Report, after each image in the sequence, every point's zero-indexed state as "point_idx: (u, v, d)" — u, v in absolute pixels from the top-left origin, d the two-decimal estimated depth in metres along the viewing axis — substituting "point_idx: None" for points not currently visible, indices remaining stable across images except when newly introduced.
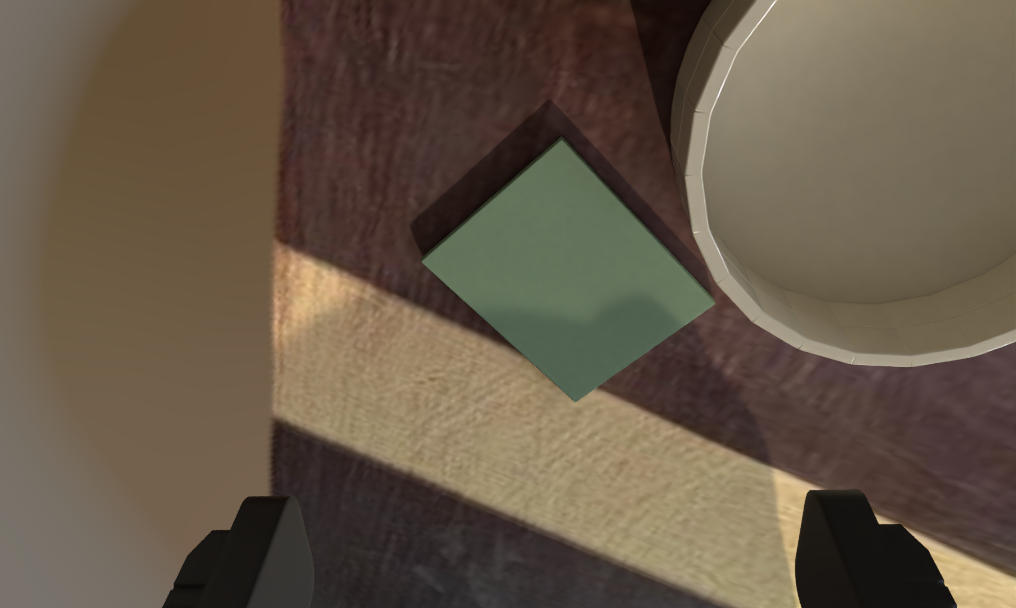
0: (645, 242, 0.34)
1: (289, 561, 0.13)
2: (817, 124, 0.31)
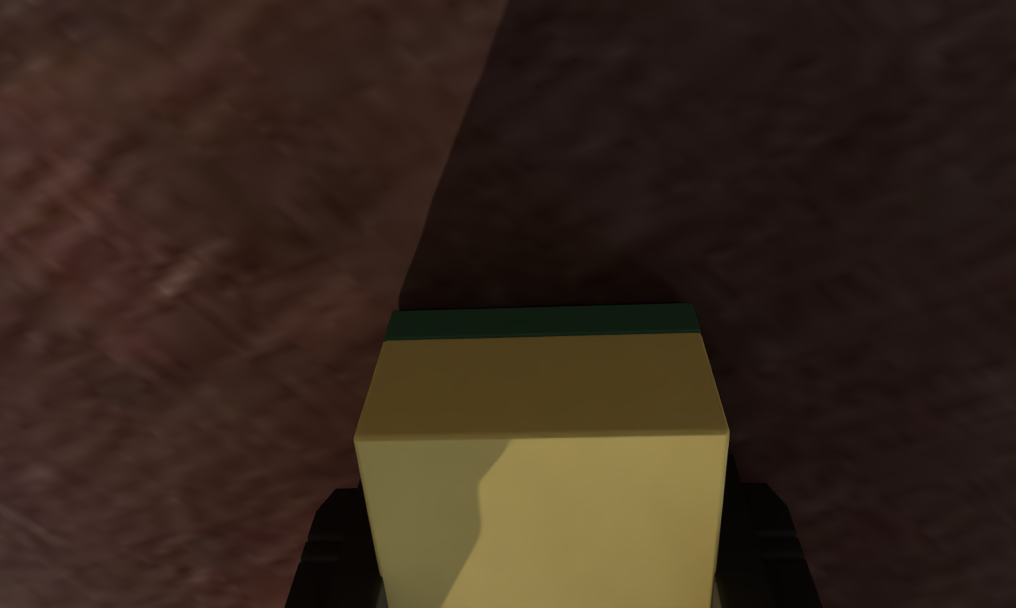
0: None
1: None
2: None
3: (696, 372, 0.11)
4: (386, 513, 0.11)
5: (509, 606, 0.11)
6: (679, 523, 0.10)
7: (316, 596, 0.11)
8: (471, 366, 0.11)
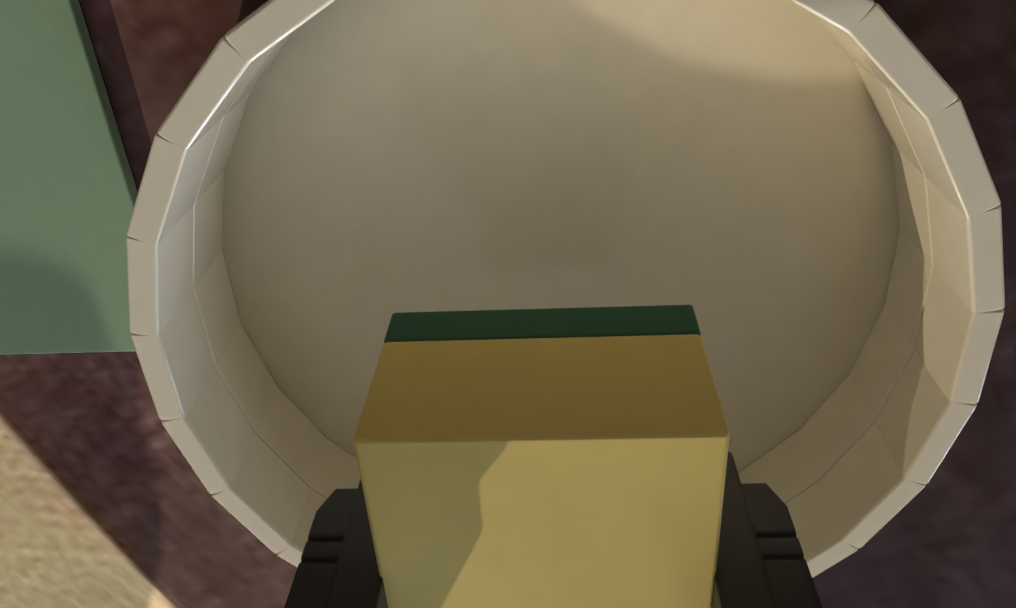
0: (116, 201, 0.20)
1: None
2: (444, 207, 0.19)
3: (696, 374, 0.11)
4: (386, 515, 0.11)
5: None
6: (680, 524, 0.10)
7: (316, 596, 0.11)
8: (471, 368, 0.11)
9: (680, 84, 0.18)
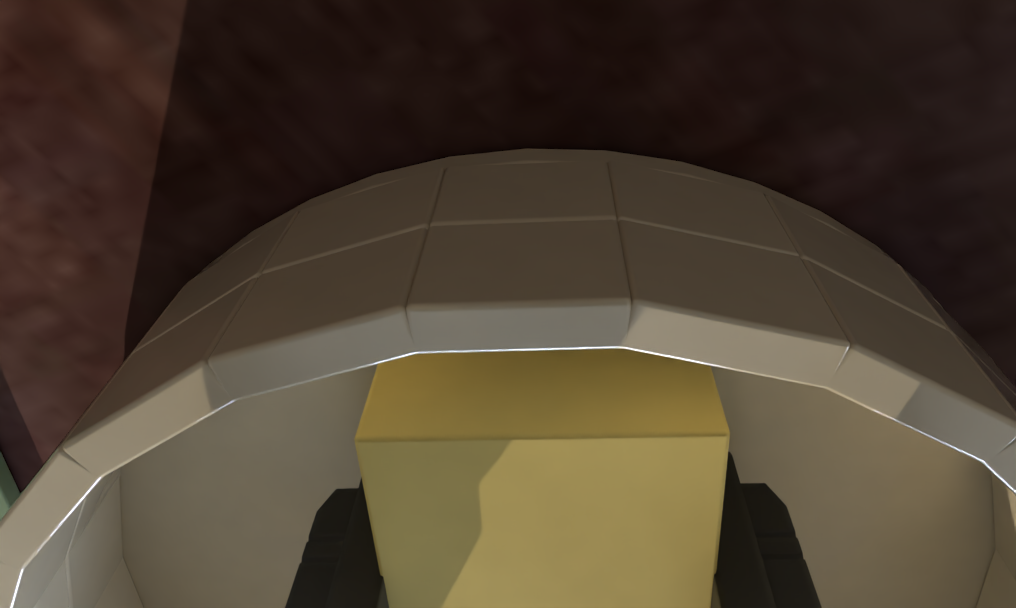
0: None
1: None
2: None
3: (696, 373, 0.11)
4: (387, 514, 0.11)
5: (510, 607, 0.11)
6: (680, 524, 0.10)
7: (316, 595, 0.11)
8: (472, 367, 0.11)
9: None
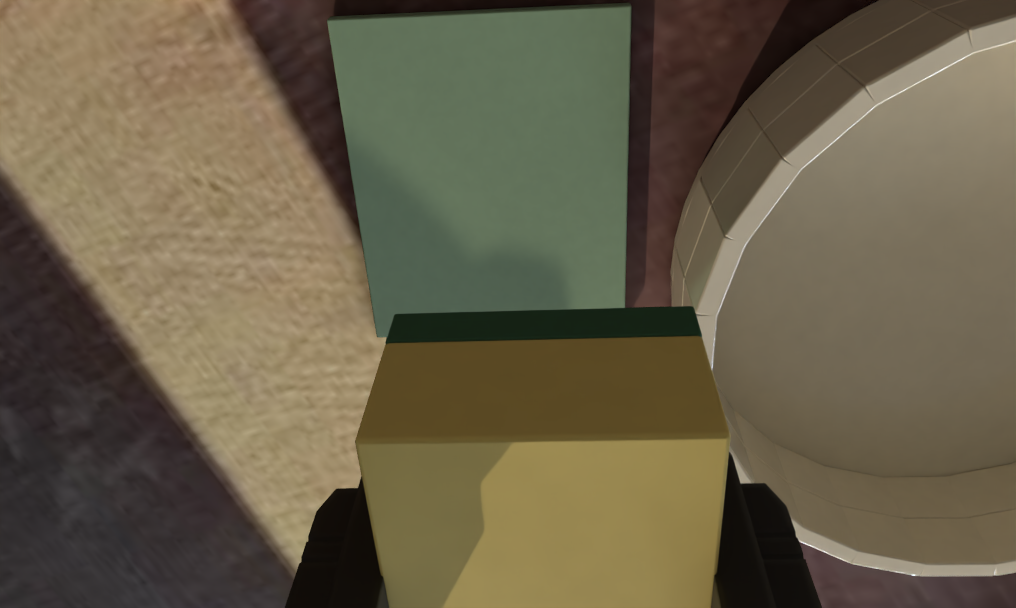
0: (613, 208, 0.24)
1: None
2: (891, 214, 0.24)
3: (697, 376, 0.11)
4: (388, 516, 0.11)
5: None
6: (680, 525, 0.10)
7: (316, 596, 0.11)
8: (473, 369, 0.11)
9: None
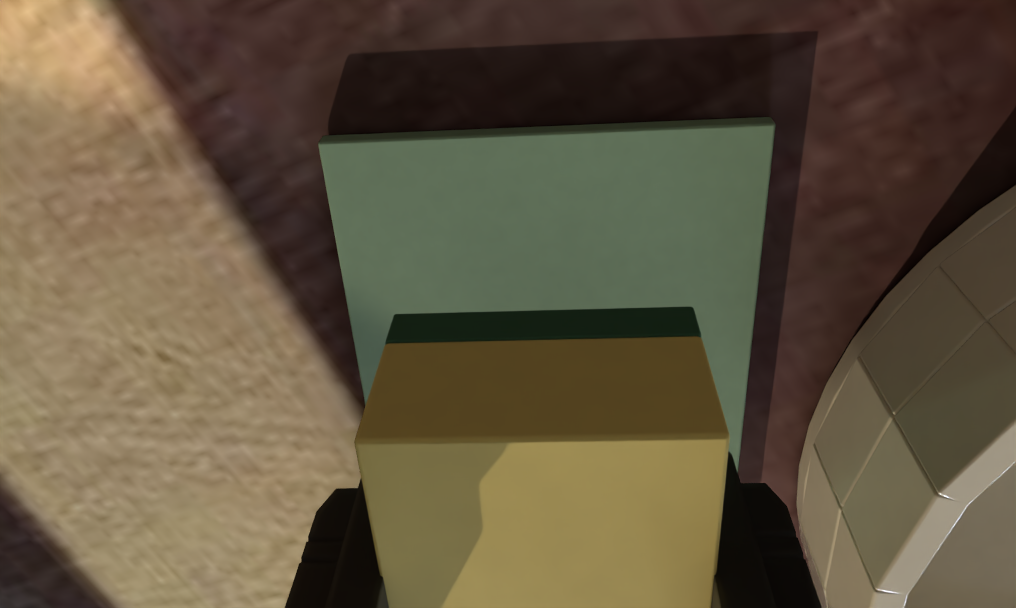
0: (726, 391, 0.17)
1: None
2: None
3: (696, 376, 0.11)
4: (387, 516, 0.11)
5: None
6: (679, 527, 0.10)
7: (316, 596, 0.11)
8: (472, 369, 0.11)
9: None
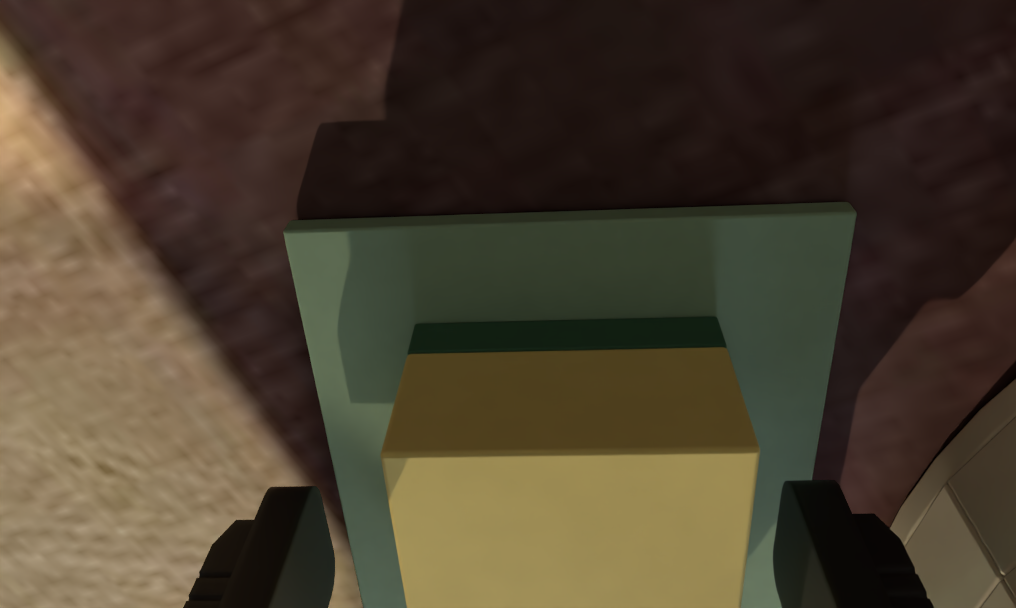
0: None
1: (311, 551, 0.13)
2: None
3: (724, 388, 0.11)
4: (412, 529, 0.11)
5: None
6: (707, 539, 0.10)
7: None
8: (496, 381, 0.11)
9: None
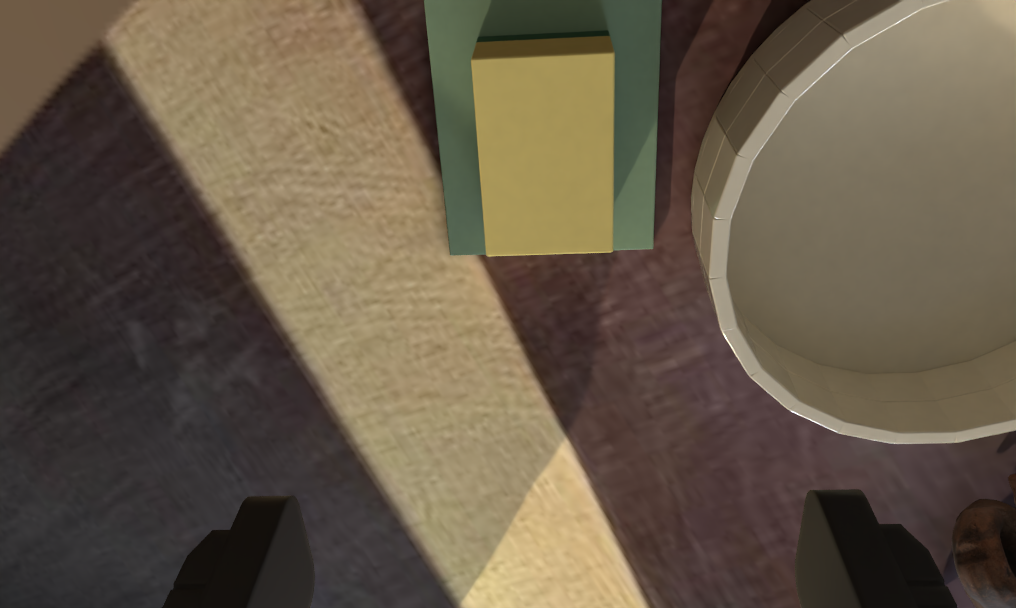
0: (645, 143, 0.30)
1: (289, 561, 0.13)
2: (868, 146, 0.30)
3: (605, 42, 0.27)
4: (481, 96, 0.27)
5: (530, 148, 0.27)
6: (597, 98, 0.27)
7: None
8: (514, 45, 0.27)
9: None
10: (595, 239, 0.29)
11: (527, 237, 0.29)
